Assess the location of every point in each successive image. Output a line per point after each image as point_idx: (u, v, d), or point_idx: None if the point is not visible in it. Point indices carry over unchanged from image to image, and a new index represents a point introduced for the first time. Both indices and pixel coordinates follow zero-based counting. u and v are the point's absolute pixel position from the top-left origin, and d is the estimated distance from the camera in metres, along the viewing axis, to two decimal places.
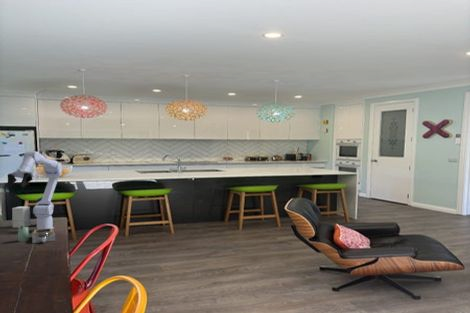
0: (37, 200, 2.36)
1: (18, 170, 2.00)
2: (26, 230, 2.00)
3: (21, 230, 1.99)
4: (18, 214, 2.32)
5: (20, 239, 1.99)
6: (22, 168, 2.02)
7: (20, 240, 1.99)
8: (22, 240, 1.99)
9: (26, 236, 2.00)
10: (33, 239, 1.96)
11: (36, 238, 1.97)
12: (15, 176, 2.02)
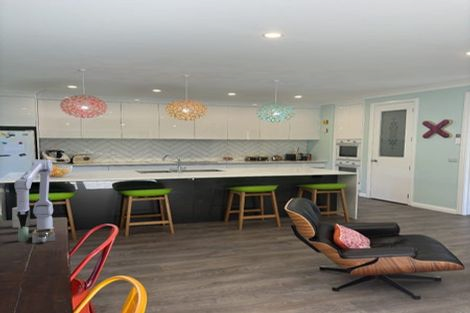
0: (37, 200, 2.36)
1: None
2: (26, 230, 2.00)
3: (21, 230, 1.99)
4: None
5: (20, 239, 1.99)
6: (17, 206, 1.99)
7: (20, 240, 1.99)
8: (22, 240, 1.99)
9: (26, 236, 2.00)
10: (33, 239, 1.96)
11: (36, 238, 1.97)
12: None
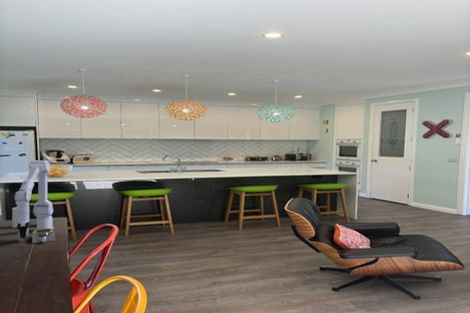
0: (37, 200, 2.36)
1: None
2: None
3: None
4: None
5: (20, 239, 1.99)
6: (17, 218, 1.99)
7: (20, 240, 1.99)
8: (22, 240, 1.99)
9: (26, 236, 2.00)
10: (33, 239, 1.96)
11: (36, 238, 1.97)
12: None
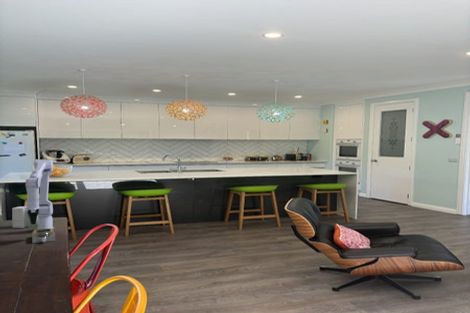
0: None
1: None
2: None
3: None
4: (18, 214, 2.32)
5: (30, 225, 2.02)
6: (27, 204, 2.02)
7: (30, 226, 2.02)
8: (32, 226, 2.02)
9: (36, 222, 2.04)
10: (33, 239, 1.96)
11: (36, 238, 1.97)
12: None
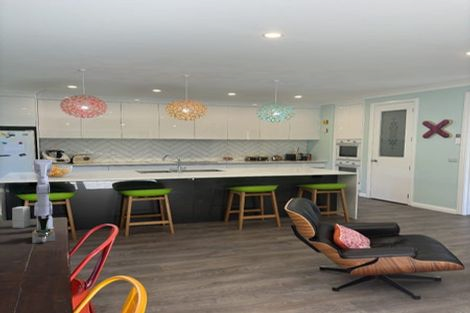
0: (37, 200, 2.36)
1: None
2: None
3: None
4: (18, 214, 2.32)
5: (40, 231, 2.05)
6: (38, 210, 2.05)
7: None
8: None
9: (46, 228, 2.07)
10: (33, 239, 1.96)
11: (36, 238, 1.97)
12: None
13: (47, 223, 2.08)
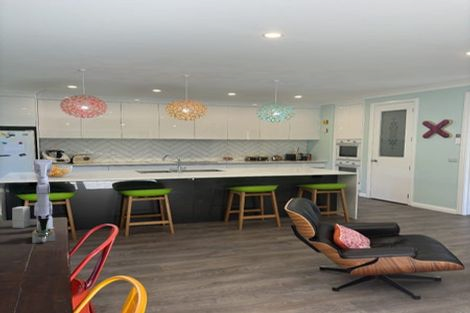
0: (37, 200, 2.36)
1: None
2: (46, 226, 2.07)
3: None
4: (18, 214, 2.32)
5: None
6: (38, 211, 2.05)
7: None
8: None
9: (46, 231, 2.07)
10: (33, 239, 1.96)
11: (36, 238, 1.97)
12: None
13: (47, 226, 2.08)
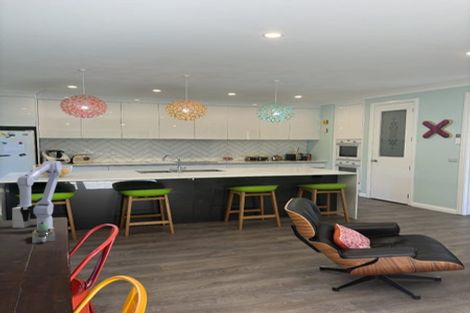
0: (37, 200, 2.36)
1: None
2: (46, 226, 2.07)
3: (41, 226, 2.05)
4: (18, 214, 2.32)
5: None
6: (20, 202, 2.08)
7: None
8: None
9: (46, 231, 2.07)
10: (33, 239, 1.96)
11: (36, 238, 1.97)
12: None
13: (47, 226, 2.08)
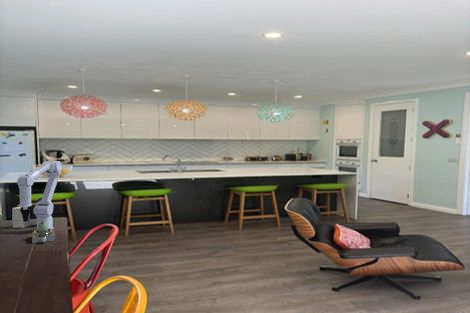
0: (37, 200, 2.36)
1: None
2: (46, 226, 2.07)
3: (41, 226, 2.05)
4: (18, 214, 2.32)
5: None
6: (20, 202, 2.08)
7: None
8: None
9: (46, 231, 2.07)
10: (33, 239, 1.96)
11: (36, 238, 1.97)
12: None
13: (47, 226, 2.08)
